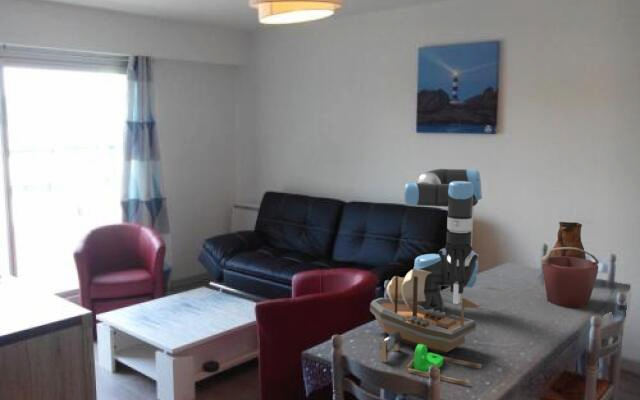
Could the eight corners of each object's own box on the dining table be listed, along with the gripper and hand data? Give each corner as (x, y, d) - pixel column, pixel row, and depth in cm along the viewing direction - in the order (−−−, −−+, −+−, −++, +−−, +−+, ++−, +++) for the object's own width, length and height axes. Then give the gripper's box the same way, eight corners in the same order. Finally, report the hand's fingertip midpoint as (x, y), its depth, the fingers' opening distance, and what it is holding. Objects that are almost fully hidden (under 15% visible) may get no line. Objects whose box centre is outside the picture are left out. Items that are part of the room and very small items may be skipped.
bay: (404, 371, 188) (404, 367, 188) (420, 355, 201) (420, 351, 201) (468, 386, 178) (469, 381, 178) (481, 367, 191) (481, 363, 191)
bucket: (538, 306, 255) (541, 250, 251) (536, 292, 275) (539, 240, 272) (599, 312, 247) (603, 255, 243) (593, 297, 267) (596, 244, 264)
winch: (378, 361, 196) (378, 341, 195) (392, 348, 207) (392, 329, 206) (388, 363, 194) (389, 343, 193) (402, 350, 205) (402, 331, 204)
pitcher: (589, 280, 295) (593, 223, 291) (573, 288, 280) (577, 228, 276) (557, 274, 307) (561, 218, 303) (539, 282, 292) (543, 224, 288)
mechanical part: (430, 374, 185) (431, 351, 184) (413, 370, 189) (414, 346, 188) (445, 362, 195) (446, 339, 194) (429, 357, 198) (430, 335, 197)
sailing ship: (386, 322, 233) (388, 257, 229) (489, 354, 202) (493, 279, 199) (361, 333, 221) (362, 265, 218) (466, 368, 191) (469, 289, 187)
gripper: (435, 230, 181) (433, 302, 185) (476, 234, 175) (473, 309, 178) (442, 226, 188) (440, 296, 191) (482, 230, 181) (479, 302, 185)
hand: (456, 302), depth 185 cm, fingers closed
